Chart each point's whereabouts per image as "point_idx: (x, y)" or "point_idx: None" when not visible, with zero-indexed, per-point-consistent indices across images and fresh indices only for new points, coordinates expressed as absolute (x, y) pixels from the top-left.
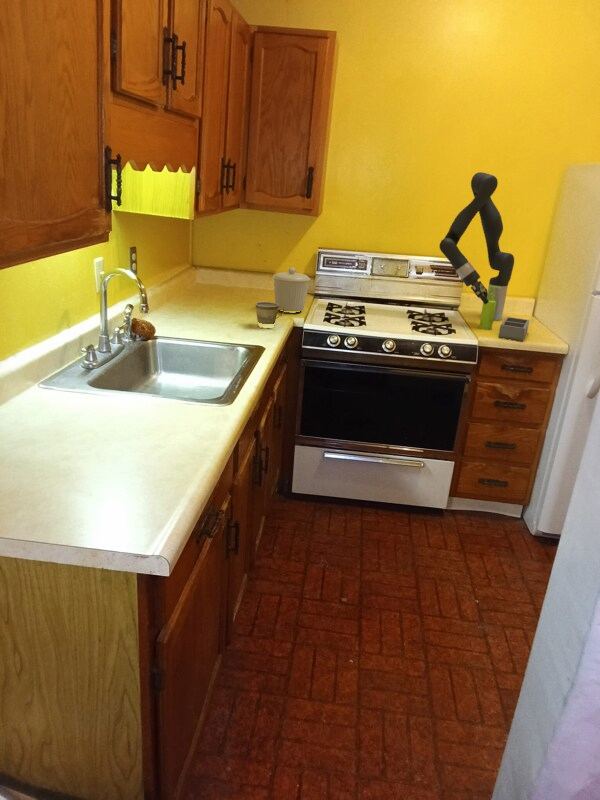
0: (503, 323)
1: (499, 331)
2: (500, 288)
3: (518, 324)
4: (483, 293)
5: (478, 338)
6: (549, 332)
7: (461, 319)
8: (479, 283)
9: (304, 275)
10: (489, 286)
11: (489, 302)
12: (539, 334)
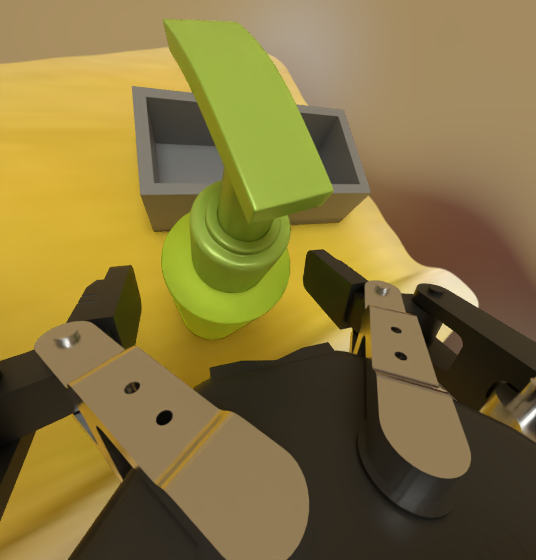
0: (334, 186)
1: (353, 208)
2: (242, 35)
3: None
4: (385, 289)
5: (403, 274)
6: (52, 64)
7: (68, 527)
8: (469, 460)
9: None
10: (295, 202)
11: (287, 251)
12: None
